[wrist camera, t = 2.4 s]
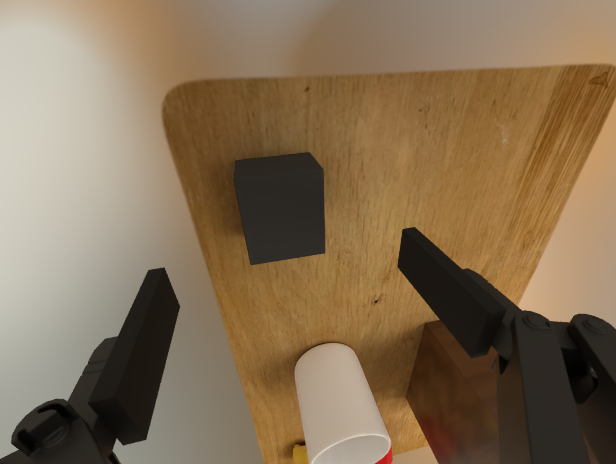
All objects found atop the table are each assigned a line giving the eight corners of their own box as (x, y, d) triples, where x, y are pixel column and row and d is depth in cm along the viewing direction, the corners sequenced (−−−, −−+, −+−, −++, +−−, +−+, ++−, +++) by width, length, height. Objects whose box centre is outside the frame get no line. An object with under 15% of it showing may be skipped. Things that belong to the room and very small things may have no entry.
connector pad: (235, 160, 22) (233, 179, 18) (309, 152, 23) (323, 168, 19) (249, 236, 25) (250, 265, 22) (313, 226, 26) (325, 253, 22)
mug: (337, 395, 42) (363, 485, 33) (279, 370, 36) (291, 471, 27) (381, 363, 40) (422, 449, 31) (327, 331, 34) (358, 426, 25)
